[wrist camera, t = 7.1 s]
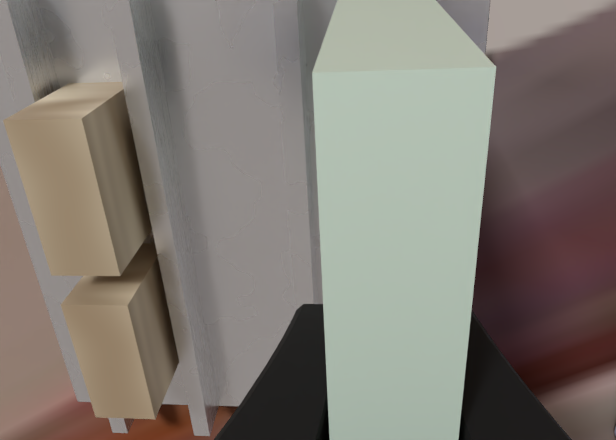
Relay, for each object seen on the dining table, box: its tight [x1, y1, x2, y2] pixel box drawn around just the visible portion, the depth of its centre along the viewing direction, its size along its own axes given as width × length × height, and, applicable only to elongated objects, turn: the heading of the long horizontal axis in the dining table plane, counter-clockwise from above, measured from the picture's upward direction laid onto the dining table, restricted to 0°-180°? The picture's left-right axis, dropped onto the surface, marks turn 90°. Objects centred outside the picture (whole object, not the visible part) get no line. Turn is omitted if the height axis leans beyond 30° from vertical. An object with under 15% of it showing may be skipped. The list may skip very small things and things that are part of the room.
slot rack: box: [0, 0, 490, 436], centre depth 18 cm, size 15×16×2 cm
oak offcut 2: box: [61, 243, 179, 419], centre depth 19 cm, size 2×4×4 cm, turn 3°
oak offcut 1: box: [3, 82, 152, 276], centre depth 16 cm, size 2×4×4 cm, turn 3°
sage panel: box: [312, 0, 496, 440], centre depth 10 cm, size 1×10×8 cm, turn 3°
